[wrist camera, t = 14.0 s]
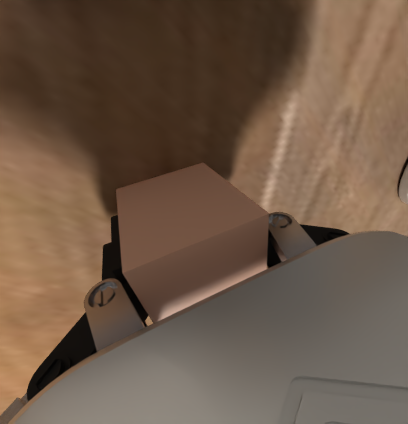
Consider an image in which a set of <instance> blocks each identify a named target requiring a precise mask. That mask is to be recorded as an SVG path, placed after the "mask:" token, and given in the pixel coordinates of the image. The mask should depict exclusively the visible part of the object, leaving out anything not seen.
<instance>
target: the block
mask: <svg viewBox="0 0 408 424" xmlns="http://www.w3.org/2000/svg"><path fill="white" fill-rule="evenodd" d="M116 196H117V209H118V222H119V235H120V248H121V261H122V273H123V275H124V276H125V278H126V280H127V281H128V283H129V285H130V286H131V288H132V289H133V291H134V293H135V294H136V296H137V297H138V299H139V301H140V302H141V304H142V305H143V307H144V309H145V310H146V312H147V313H148V315H149V317H150V318H151V320H152V322H153V323H155V322H158V321H160V320H162V319H164V318H166V317H168V316H170V315H172V314H174V313H176V312H178V311H180V310H182V309H184V308H187V307H189V306H191V305H193V304H195V303H197V302H199V301H201V300H203V299H205V298H207V297H209V296H212V295H214V294H216V293H218V292H220V291H222V290H224V289H226V288H228V287H230V286H232V285H235V284H237V283H239V282H241V281H243V280H245V279H247V278H249V277H251V276H253V275H256V274H258V273H260V272H262V271H264V270H266V269H267V248H268V227H269V213H268V212H267V211H265V210H264V209H263V208H261V207H260V206H259V205H258V204H256V203H255V202H254V201H252V200H251V199H250V198H248V197H247V196H246V195H245V194H243V193H242V192H241V191H239V190H238V189H237V188H236V187H234V186H233V185H232V184H230V183H229V182H228V181H227V180H225V179H224V178H223V177H221V176H220V175H219V174H217V173H216V172H215V171H214V170H212V169H211V168H210V167H208V166H207V165H206V164H205V163H200V164H197V165H193V166H190V167H187V168H184V169H180V170H177V171H174V172H171V173H167V174H164V175H161V176H158V177H154V178H151V179H148V180H144V181H141V182H138V183H135V184H131V185H128V186H125V187H122V188H118V189H116Z"/></svg>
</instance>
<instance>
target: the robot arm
mask: <svg viewBox="0 0 408 424" xmlns="http://www.w3.org/2000/svg"><path fill="white" fill-rule="evenodd" d="M399 197H400V200H401V201H402V202H403V203H406V204H408V164H407V166H406V168H405V170H404V173H403V176H402V178H401V181H400V186H399ZM111 240H112V242H111V243H108V244H105V245H104V246H103V264H102V281H101V282H99V283H97V284H96V285H95V286H93V287H92V288H91V289H90V290H89V292H88V293H87V295H86V296H85V300H84V308H85V311H86V313H85V314H84V315H83V316H82V317H81V318H80V320H79V321H78V322H77V323H76V324H75V325H74V327H73V328H72V329H71V330H70V331H69V332H68V334H67V335H66V336H65V337H64V338H63V339H62V341H61V342H60V343H59V344H58V345H57V346H56V348H55V349H54V350H53V351H52V352H51V353H50V355H49V356H48V357H47V358H46V359H45V360H44V362H43V363H42V364H41V365H40V366H39V368H38V369H37V370H36V372H35V373H34V375H33V377H32V379H31V381H30V382H29V385H28V389H27V393H26V394H25V395H24V396H23V397H22V398H21V399H20V398H16V400H15V401H14V402H13V403H12V404H11V405H10V406H9V407H8V408H7V409H6V410H5V411H4V412H3V414H2V415H1V416H0V424H408V237H407V236H404V235H401V234H398V233H395V232H390V231H365V232H358V233H353V234H349V233H347V232H345V231H343V230H339V229H333V228H325V227H317V226H309V225H301V224H299V223H298V222H297V221H296V220H295V219H294V217H292V216H291V215H289V214H287V213H283V212H274V213H270V214H269V227H268V248H267V269H266V270H264V271H262V272H260V273H258V274H256V275H253V276H251V277H249V278H247V279H245V280H243V281H241V282H239V283H237V284H235V285H232V286H230V287H228V288H226V289H224V290H222V291H220V292H218V293H216V294H214V295H212V296H209V297H207V298H205V299H203V300H201V301H199V302H197V303H195V304H193V305H191V306H189V307H187V308H184V309H182V310H180V311H178V312H176V313H174V314H172V315H170V316H168V317H166V318H164V319H162V320H160V321H158V322H155V323H153V324H151V325H149V326H148V325H147V323H146V322H145V320H146V319H147V317H148V313H147V312H146V310H145V309H144V307H143V305H142V304H141V302H140V301H139V299H138V297H137V296H136V294H135V293H134V291H133V289H132V288H131V286H130V285H129V283H128V281H127V280H126V278H125V276H124V275H123V273H122V261H121V248H120V235H119V222H118V215H116V216H113V217H111Z"/></svg>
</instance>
